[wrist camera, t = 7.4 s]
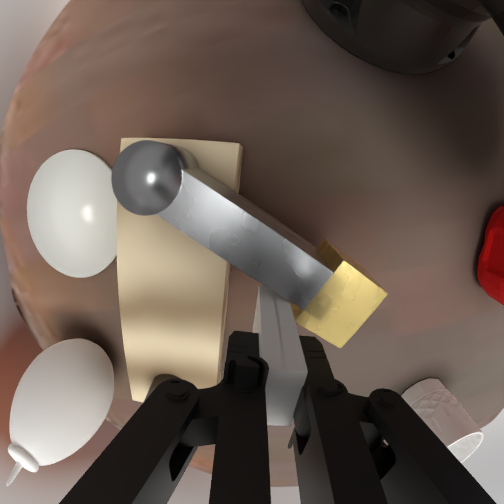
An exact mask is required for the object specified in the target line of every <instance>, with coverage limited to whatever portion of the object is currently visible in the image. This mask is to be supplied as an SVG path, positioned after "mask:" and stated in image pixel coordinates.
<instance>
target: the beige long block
mask: <svg viewBox="0 0 504 504" xmlns="http://www.w3.org/2000/svg"><path fill="white" fill-rule="evenodd" d="M142 140H152V141H157V142H162V143H167V144H171V145H176V146H180V147H183V148H185V149H187V150H189V151H190V152H191V153H192V154H193V155H194V156H195V158H196V159H197V161H198V164H199V167H200V169H202V170H203V171H205V172H206V173H208V174H209V175H211V176H212V177H214V178H215V179H217V180H219V181H220V182H222V183H223V184H225V185H226V186H228V187H229V188H231V189H232V190H234V191H235V192H237V193H238V192H239V184H240V175H241V166H242V158H243V147H242V146H241V145H240V143H230V142H218V141H205V140H188V139H165V138H121V148H120V153H121V152H122V151H123V150H124V149H125V148H126V147H128V146H129V145H131V144H132V143H135V142H137V141H142ZM230 268H231V264H230V263H229V262H227V261H226V260H224V259H223V258H221V257H219V256H218V255H216V254H215V253H213V252H212V251H210V250H209V249H207V248H206V247H204V246H203V245H201V244H200V243H198V242H197V241H195V240H194V239H192V238H190V237H189V236H187V235H186V234H184V233H183V232H181V231H180V230H178V229H177V228H175V227H174V226H172V225H171V224H169V223H168V222H166V221H165V220H163V219H162V218H160V217H159V216H157V215H156V214H154V215H149V216H142V215H137V214H134V213H131V212H129V211H128V210H126V209H125V208H124V207H123V206H122V205H121V204H120V203H119V202H118V200H117V273H118V291H119V304H120V315H121V325H122V334H123V342H124V350H125V357H126V364H127V370H128V376H129V382H130V388H131V393H132V398H133V400H135V401H139V402H143V403H144V402H145V400H146V399H147V398H148V397H149V395H150V394H151V393H152V392H153V391H154V389H155V388H156V387H157V386H158V385H159V384H160V383H161V382H163V381H166V380H169V379H182V380H187V381H189V382H191V383H193V384H194V385H195V386H196V387H197V388H198V389H203V388H209V387H213V386H215V385H217V384H219V383H220V379H221V368H222V356H223V344H224V333H225V321H226V310H227V299H228V289H229V278H230Z"/></svg>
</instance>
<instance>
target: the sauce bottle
mask: <svg viewBox="0 0 504 504" xmlns="http://www.w3.org/2000/svg"><path fill="white" fill-rule="evenodd" d="M113 393H114V371H113V366H112V363H111V361H110V359H109V357H108V355H107V354H106V353H105V351H104V350H103V349H102V348H101V347H100V346H99V345H97V344H95V343H93V342H91V341H89V340H86V339H79V338H77V339H68V340H64V341H61V342H58V343H56V344H54V345H52V346H50V347H48V348H47V349H45V350H44V351H43V352H41V353H40V355H38V356H37V357H36V359H35V360H34V361H33V362H32V363H31V364H30V366H29V367H28V368H27V370H26V371H25V373H24V375H23V376H22V378H21V380H20V382H19V385H18V387H17V390H16V392H15V395H14V399H13V403H12V408H11V413H10V438H11V442H12V444H10V445H9V447H8V452H9V454H10V455H11V457H12V458H13V459H14V460H15V461H16V464H15V466H14V468H13V470H12V472H11V474H10V476H9V478H8V481H7V484H6V485H7V486H9V485H10V484H11V482H12V481H13V480H14V479H15V477H16V476H17V474H18V473H19V471H20V470H21V468H22V467H24V468H25V469H27V470H29V471H31V472H37V471H38V469H39V466H43V465H49V464H53V463H56V462H58V461H60V460H62V459H64V458H66V457H68V456H70V455H71V454H73V453H74V452H75V451H77V450H78V449H79V448H81V447H82V446H83V445H84V444H85V443H86V442H87V441H88V440H89V439H90V438H91V437H92V436H93V435H94V434H95V432H96V431H97V430H98V428H99V427H100V425H101V424H102V422H103V421H104V419H105V417H106V415H107V413H108V411H109V408H110V406H111V402H112V398H113Z"/></svg>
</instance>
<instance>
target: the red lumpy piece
mask: <svg viewBox="0 0 504 504" xmlns="http://www.w3.org/2000/svg"><path fill="white" fill-rule="evenodd" d="M477 277H478V280H479V283H480V285H481V287H482V288H483V289H484V290H485V292H486V293H487V294H488V295H489V296H490V297H492V298H493V299H495V300H496V301H498V302H499V303H501V304H502V305H504V206H500V207H499V208H498V209H497V210H496V211H495V212H493V214H492V216H491V218H490V220H489V223H488V225H487V228H486V231H485V242H484V246H483V248H482V251H481V253H480V256H479V260H478V270H477Z"/></svg>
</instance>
